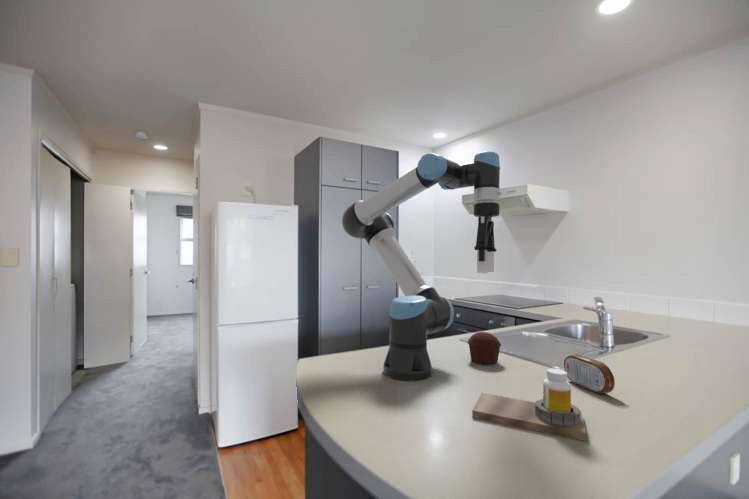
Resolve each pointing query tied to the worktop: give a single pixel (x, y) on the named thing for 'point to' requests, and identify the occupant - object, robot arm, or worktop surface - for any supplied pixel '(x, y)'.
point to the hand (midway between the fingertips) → (485, 272)
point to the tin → (589, 373)
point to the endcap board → (530, 416)
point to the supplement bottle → (557, 392)
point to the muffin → (484, 348)
